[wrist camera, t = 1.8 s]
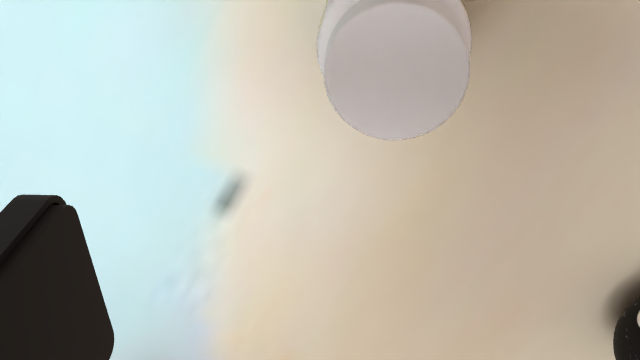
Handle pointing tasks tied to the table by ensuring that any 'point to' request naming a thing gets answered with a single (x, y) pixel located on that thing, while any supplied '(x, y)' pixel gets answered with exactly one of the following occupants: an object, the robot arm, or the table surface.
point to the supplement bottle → (395, 63)
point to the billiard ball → (628, 333)
